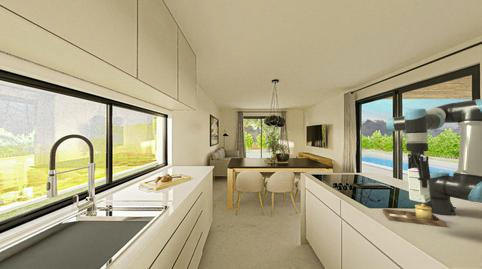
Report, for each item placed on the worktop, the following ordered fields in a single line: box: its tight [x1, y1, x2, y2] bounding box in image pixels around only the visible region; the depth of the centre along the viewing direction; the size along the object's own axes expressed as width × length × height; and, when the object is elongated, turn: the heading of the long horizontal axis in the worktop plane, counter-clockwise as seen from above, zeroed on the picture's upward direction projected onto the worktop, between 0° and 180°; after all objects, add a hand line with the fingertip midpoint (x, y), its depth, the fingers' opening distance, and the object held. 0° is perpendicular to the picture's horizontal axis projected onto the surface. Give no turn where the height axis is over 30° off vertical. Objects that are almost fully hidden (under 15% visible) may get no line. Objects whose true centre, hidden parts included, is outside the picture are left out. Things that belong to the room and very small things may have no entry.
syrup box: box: [407, 168, 431, 203], centre depth 89 cm, size 6×6×14 cm
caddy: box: [381, 208, 446, 228], centre depth 102 cm, size 22×12×3 cm, turn 67°
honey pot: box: [414, 203, 432, 220], centre depth 100 cm, size 6×6×9 cm
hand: (419, 192), depth 88 cm, fingers closed on syrup box, 8 cm apart
